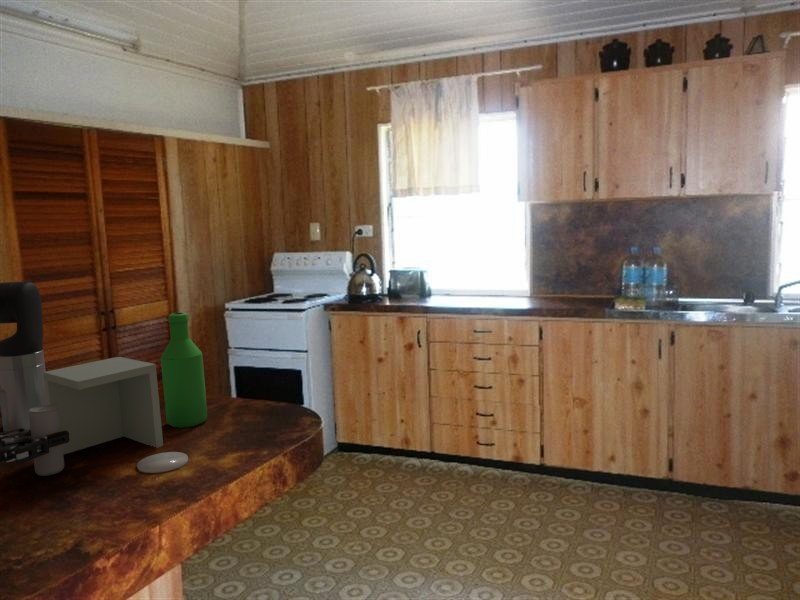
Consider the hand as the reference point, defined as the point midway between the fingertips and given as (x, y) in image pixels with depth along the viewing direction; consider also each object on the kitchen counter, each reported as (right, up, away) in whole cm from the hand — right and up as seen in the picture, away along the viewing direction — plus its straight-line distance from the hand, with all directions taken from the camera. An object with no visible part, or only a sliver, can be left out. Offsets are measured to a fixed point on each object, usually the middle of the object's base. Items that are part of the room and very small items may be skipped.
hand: (61, 433), depth 121 cm
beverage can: (-1, -7, -1) cm, 7 cm away
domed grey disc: (+18, -6, +2) cm, 19 cm away
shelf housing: (+4, -6, +11) cm, 13 cm away
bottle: (+15, -3, +27) cm, 31 cm away
